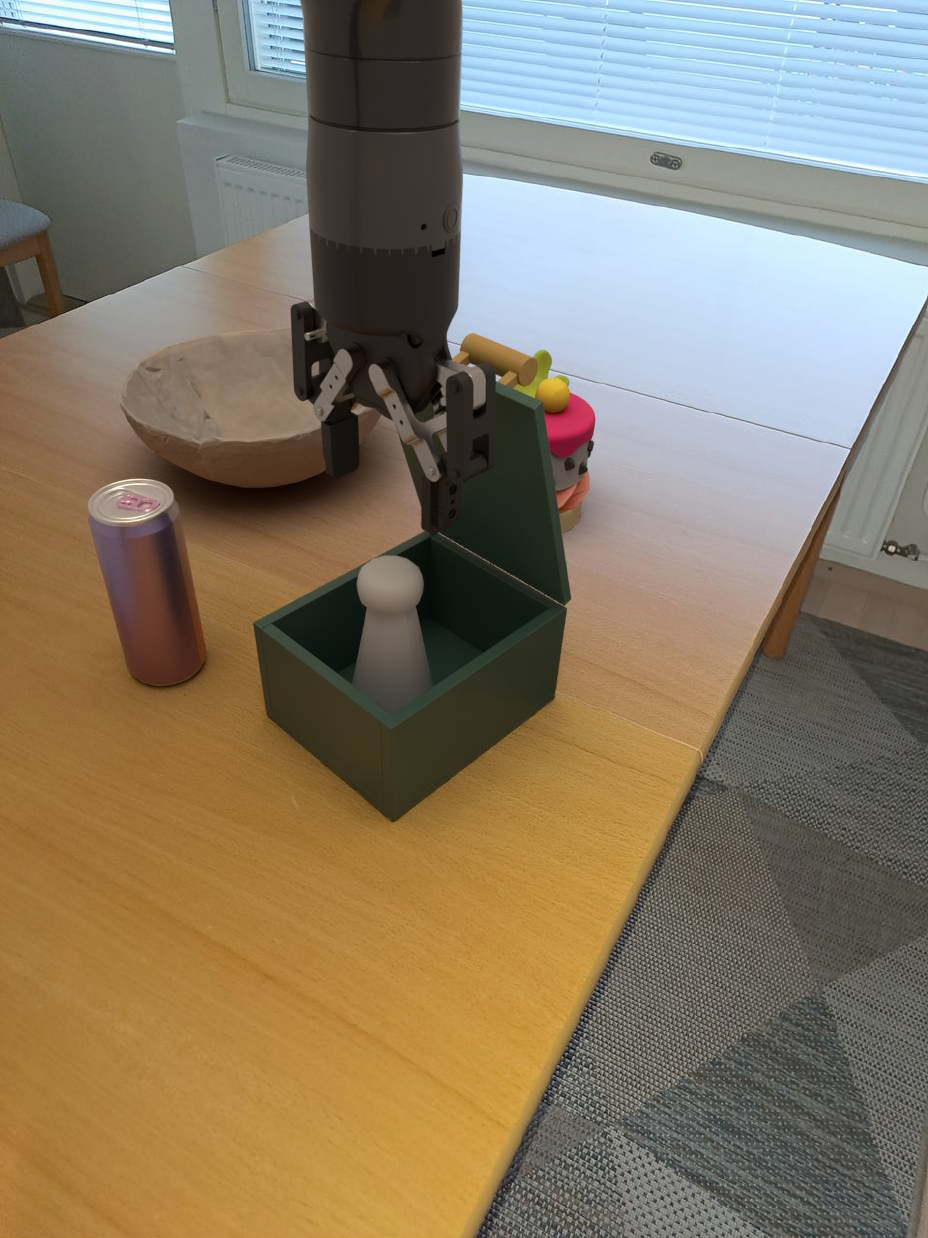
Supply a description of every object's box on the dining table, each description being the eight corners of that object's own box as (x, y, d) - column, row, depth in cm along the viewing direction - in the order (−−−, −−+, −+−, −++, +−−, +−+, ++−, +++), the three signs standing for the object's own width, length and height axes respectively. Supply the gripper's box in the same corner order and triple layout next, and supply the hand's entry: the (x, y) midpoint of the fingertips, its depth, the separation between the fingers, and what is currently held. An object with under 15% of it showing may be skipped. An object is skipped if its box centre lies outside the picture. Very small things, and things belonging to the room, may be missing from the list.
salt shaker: (441, 733, 65) (445, 589, 57) (362, 748, 64) (355, 602, 56) (420, 678, 70) (422, 537, 61) (346, 691, 68) (337, 549, 60)
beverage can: (180, 698, 68) (143, 531, 59) (112, 678, 70) (65, 512, 60) (222, 649, 73) (193, 486, 63) (156, 631, 74) (119, 469, 65)
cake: (605, 511, 90) (627, 368, 81) (535, 553, 84) (550, 404, 75) (526, 471, 96) (538, 333, 86) (455, 508, 90) (460, 363, 80)
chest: (393, 823, 60) (391, 729, 54) (266, 715, 67) (252, 622, 62) (555, 698, 70) (567, 607, 64) (428, 615, 77) (430, 527, 71)
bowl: (79, 496, 89) (53, 402, 83) (229, 388, 108) (217, 305, 102) (317, 561, 82) (309, 463, 76) (432, 434, 102) (433, 347, 95)
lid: (534, 409, 50) (593, 356, 52) (366, 334, 57) (423, 290, 59) (564, 606, 64) (610, 559, 65) (426, 526, 71) (471, 485, 73)
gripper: (237, 198, 47) (267, 476, 57) (432, 272, 39) (427, 575, 49) (349, 176, 51) (358, 437, 61) (544, 238, 44) (518, 524, 54)
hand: (389, 499), depth 55 cm, fingers open, 8 cm apart
